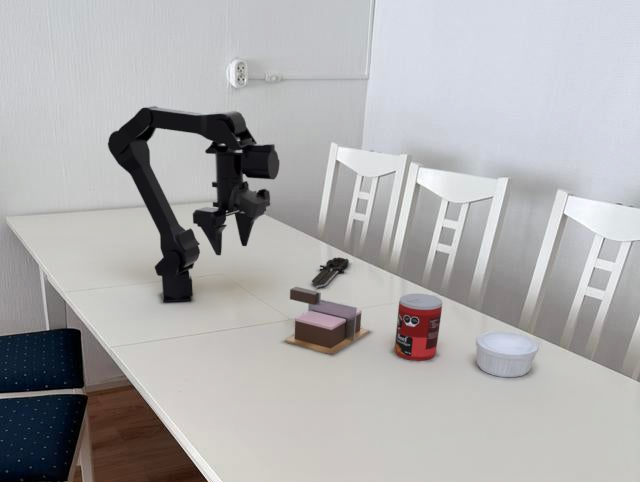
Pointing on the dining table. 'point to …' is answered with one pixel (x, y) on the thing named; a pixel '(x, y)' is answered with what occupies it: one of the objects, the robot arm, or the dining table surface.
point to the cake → (322, 328)
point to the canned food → (418, 326)
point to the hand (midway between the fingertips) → (231, 250)
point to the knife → (332, 273)
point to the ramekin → (505, 353)
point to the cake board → (325, 349)
